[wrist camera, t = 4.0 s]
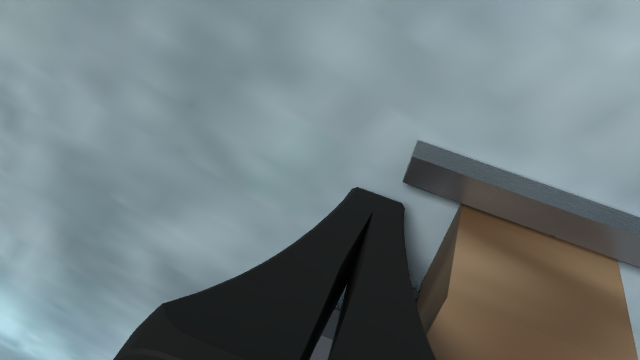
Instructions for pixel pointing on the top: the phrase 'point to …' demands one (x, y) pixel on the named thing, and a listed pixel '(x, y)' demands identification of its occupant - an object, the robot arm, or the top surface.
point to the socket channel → (326, 338)
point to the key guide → (525, 203)
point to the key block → (521, 296)
